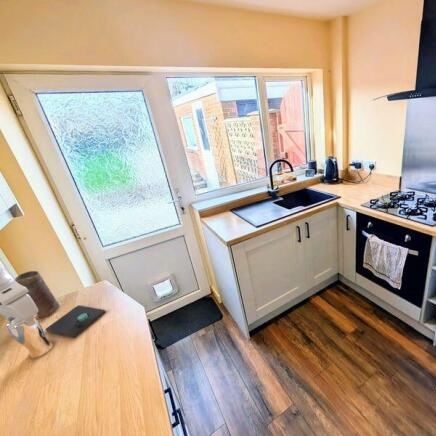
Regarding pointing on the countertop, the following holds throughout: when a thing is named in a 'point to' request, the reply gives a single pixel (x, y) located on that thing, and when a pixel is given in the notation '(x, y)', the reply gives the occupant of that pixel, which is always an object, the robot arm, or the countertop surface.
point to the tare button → (82, 317)
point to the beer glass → (29, 336)
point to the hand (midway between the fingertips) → (22, 322)
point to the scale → (75, 321)
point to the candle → (38, 292)
